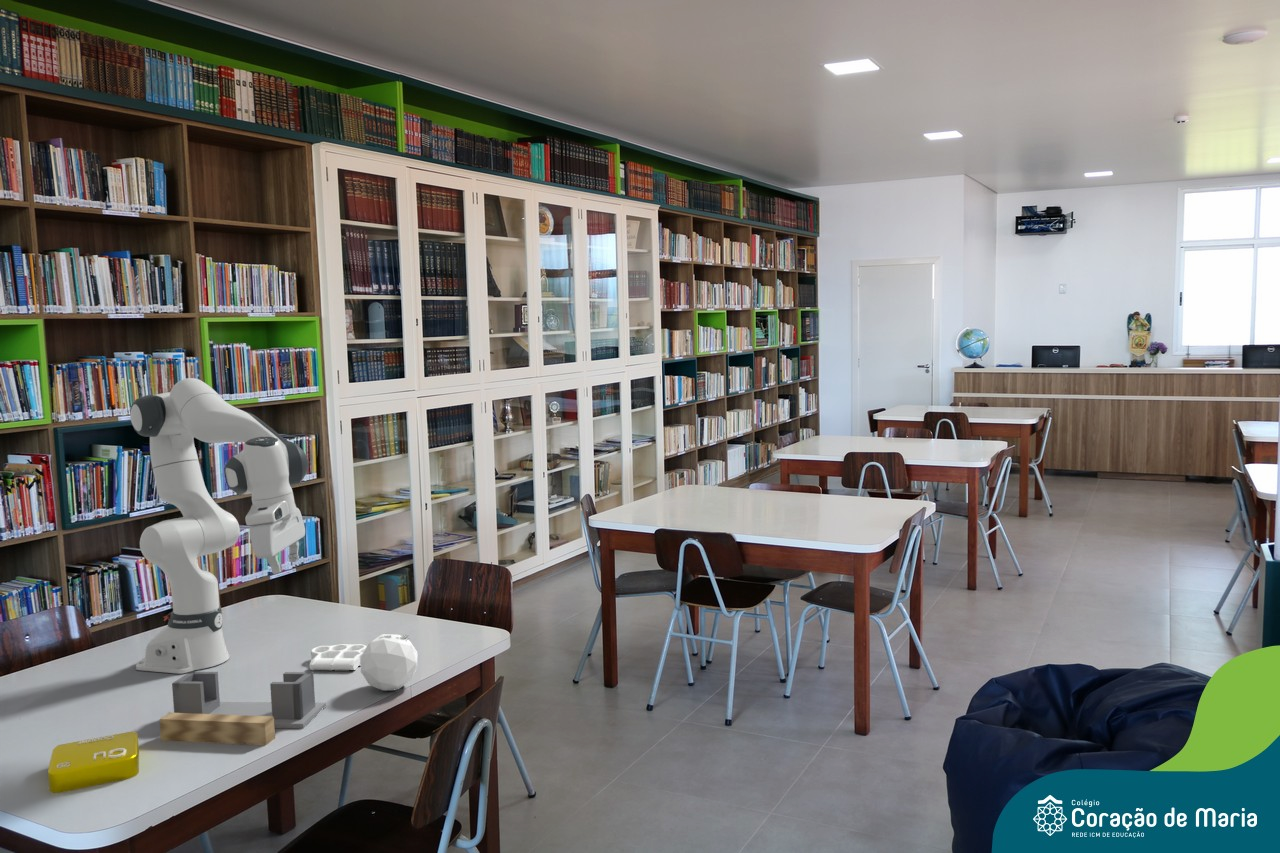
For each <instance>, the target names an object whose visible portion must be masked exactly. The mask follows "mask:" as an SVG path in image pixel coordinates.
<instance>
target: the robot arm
mask: <svg viewBox="0 0 1280 853" xmlns="http://www.w3.org/2000/svg"><path fill="white" fill-rule="evenodd" d="M129 414H130V423H131V425H132V427H133V429H134V431H135V432H136V433H137V434H138V435H140V436H142V437H145V438H146V437H147V438H148V437H149V454H150V461H151V468H152V473H153V478H154V482H155V487H156V492H157V494H158V497H159V498H160V499H161V500H162V501H163V502H165V503H167V504H169V505H173V506H174V507H176V508H177V509H178V510H179V511H180V514H182V517H178V518H177V517H176V518H172V519H166V520H165V519H164V520H161V521H159V522H157V523H154V524H152V525H149V526H147V527H146V528H145V529H144V530H143V531H142V533H141V535H140V539H139V549H140V552H141V553H142V556H143V557H144V558H145V559H146V560H147V561H148V562H150V563H151V564H153V565H155V566H157V567H158V568H159V569H160V570H161V571H162V572H163V573H164V575H165V576H166V578H167V580H168V583H169V586H170V593H171V600H172V611H171V612H169V613H167V615H165V616H163V618H164V619H163V621H164V622H166V621H167V620H168V622H167V626H165V627H164V628H163V629H162V630H161V631H160V632H159V633H158V634H156V635H155V636H154V637H153V638H152V639H150V640H149V641H148V643H147V644H146V648H145V654H144V658H142V659H140V660H139V661H138V662H137V663H136V665H135V670H136V671H143V672H144V671H145V672H157V673H168V674H169V673H170V674H179V675H180V674H188V673H189V672H195V671H198V670H204V669H208V668H211V667H215V666H218V665H221V664H223V663H224V662H226V661H228V660H229V659H230V657H231V656H230V653H229V652H228V649H227V646H226V642H225V638H224V633H223V612H222V611H223V610H222V605H220V595H219V594H220V593H219V583H218V579H217V577H216V576H215V575H214V574H213V573H212V572H210V571H207V570H205V569H201V568H200V567H199V564H198V557H204V556H207V555H211V554H217V553H219V552H222V551H224V550H227V549H228V548H231V547H233V546H234V545H236V544H237V543H238V540H239V538H240V533H241V529H240V524H239V522H238V519H237V518H236V517H235V516H234V515H233V514H232V513H230V512H229V511H227V510H225V509H224V508H222V507H220V505H219V504H218V503H216V501H215V500H214V499H213V498H212V496H211V495H210V493H209V492H208V490H207V487H206V485H205V481H204V477H203V473H202V469H201V466H200V461H199V457H198V453H197V452H198V451H197V449H196V447H195V446H196V445H195V440H194V439H197V440H199V441H201V442H204V443H207V444H208V443H209V444H220V443H222V444H223V443H243V446H242V450H241V451H240V452H239V453H237V454H235V455H233V456H231V457H230V458H228V460H227V462H226V464H225V465H224V467H223V471H224V477H225V481H226V482H225V483H226V486H227V487H228V489H230V490H231V491H232V492H234V493H236V494H237V495H251V503H252V504H251V506H250V509H249V511H248V512H247V514H246V515H245V518H244V520H245V524H246V526H249V538H250V542H251V543H250V544H251V546H252V550H253V553H254V556H255V557H256V559H258V560H260V559H265V560H266V562H267V563H268V565H269V566H270V569H271V573H272V574H273V575H277V574H280V573H281V572H282V571H283V566H282V563H280V561H279V559H278V558H279V553H281V552H282V551H283V550H285V549H287V548H288V552H289V554H288V555H287V556H288V561H289V562H290V563H296V562H297V561H299V559H300V556H299V548H300V547H299V546H300V543H299V542H300V541H299V540H301V539H302V538H305V536H306V528H305V523H304V520H303V516H302V513H301V510H300V509H299V508H298V507H297V504H296V501H295V496H294V492H293V489H292V487H291V486H294V485H299V484H300V483H301V482H302V481H303V479H304V478H305V477H306V475H307V473H308V471H309V467H310V466H309V460H308V459H309V458H308V456H307V454H306V453H305V451H304V450H303V449H302V448H301V447H300V446H299V445H297V444H295V443H294V442H291V441H289V440H287V439H286V438H285V437H283V436H282V435H281V434H279V433H278V432H277V431H276V430H274V429H273V428H272V427H270V425H268V424H267V423H265V421H264V420H262V419H261V418H259V417H258V416H256V415H255V414H253V413H251V412H248V411H245V410H242V409H240V408H238V407H235V406H234V405H232V404H230V403H228V401H225V400H224V399H223V397H222V396H221V395H220V394H219V393H218V392H217V391H216V390H215V389H214V388H213V387H211V386H210V385H209V384H207V383H206V382H204V381H202V380H201V379H199V378H195V377H188V378H183V379H181V380H178V382H176V383H175V384H174V385H173V386H172V388H171V390H170V391H168V392H163V393H157V394H147V395H144V396H140V397H138V398H136V399H135V400H134V402H132V403H131V405H130V412H129Z"/></svg>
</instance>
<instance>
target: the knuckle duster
mask: <svg viewBox="0 0 1280 853" xmlns="http://www.w3.org/2000/svg"><path fill="white" fill-rule="evenodd" d="M367 646H368V645H365V644H362V643H361V644H360V643H356V644H354V643H353V644H349V643H348V644H347V643H342V644H339V643H338V644H334V645H319V646H316V647H314V648H312V649H310V653H311V654H310V655H311V660H310V662H309V670H312V671H313V670H315V671H332V670H335V671H349V670H355V669H356V668H357V667H358V666H359V665H360V664H361V656H362V654H363V652H364V651H365V649H366V647H367Z"/></svg>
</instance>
